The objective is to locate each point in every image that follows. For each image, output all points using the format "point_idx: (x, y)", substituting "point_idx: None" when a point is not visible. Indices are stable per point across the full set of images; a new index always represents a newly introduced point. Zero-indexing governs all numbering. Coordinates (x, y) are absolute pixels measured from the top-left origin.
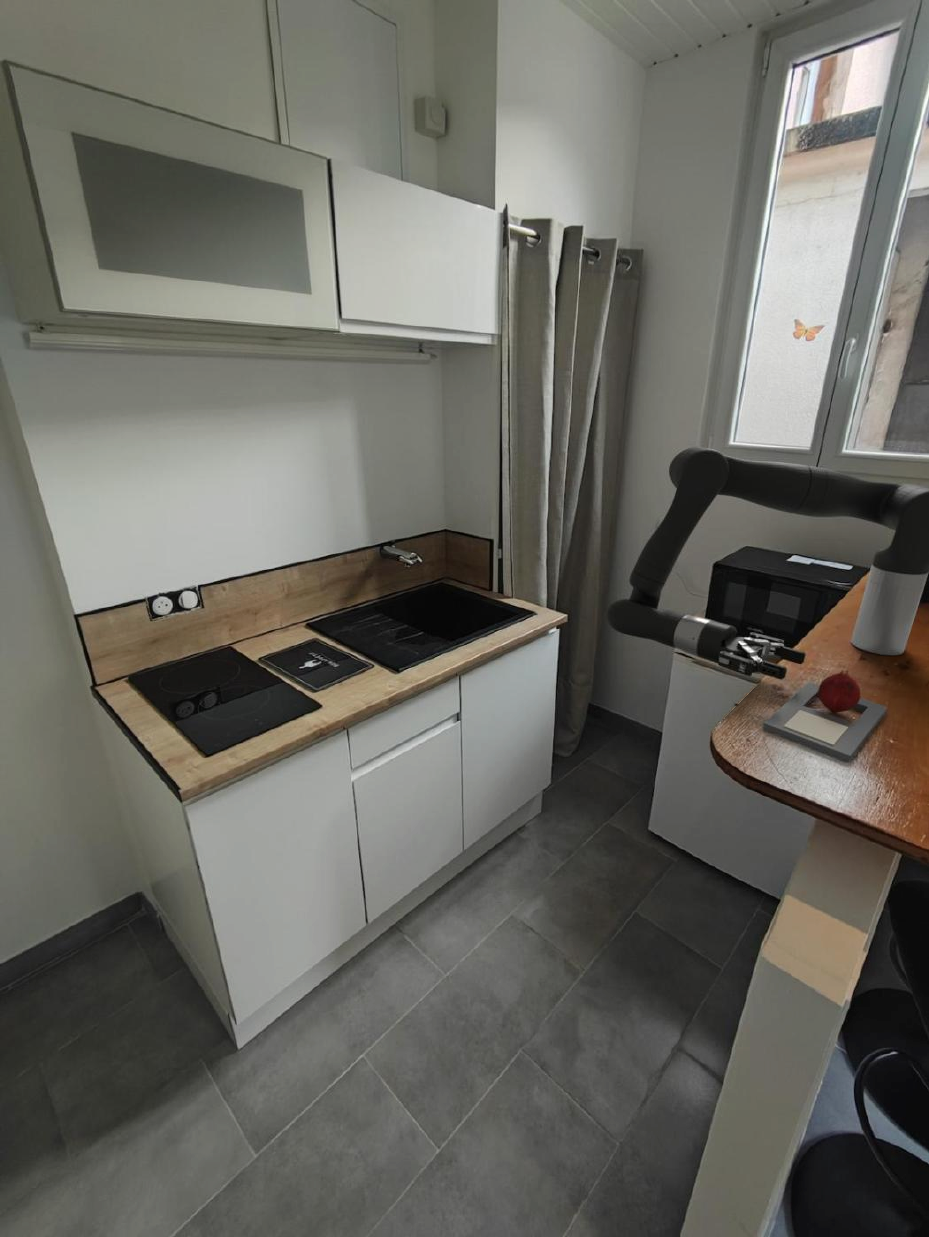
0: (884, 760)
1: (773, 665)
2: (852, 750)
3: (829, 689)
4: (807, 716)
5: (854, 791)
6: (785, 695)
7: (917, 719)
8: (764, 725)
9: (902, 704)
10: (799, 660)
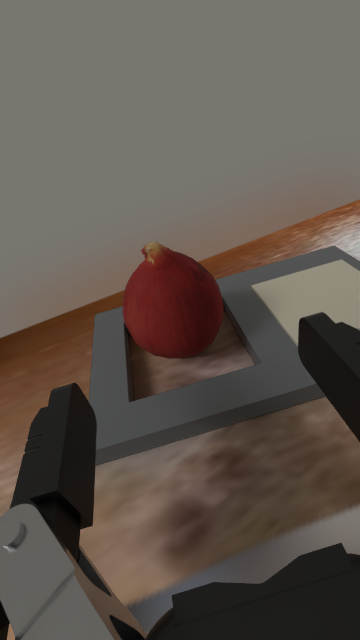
0: (264, 258)
1: (356, 344)
2: (315, 252)
3: (215, 287)
4: None
5: None
6: (215, 464)
7: (84, 306)
8: None
9: (36, 337)
10: (88, 417)
